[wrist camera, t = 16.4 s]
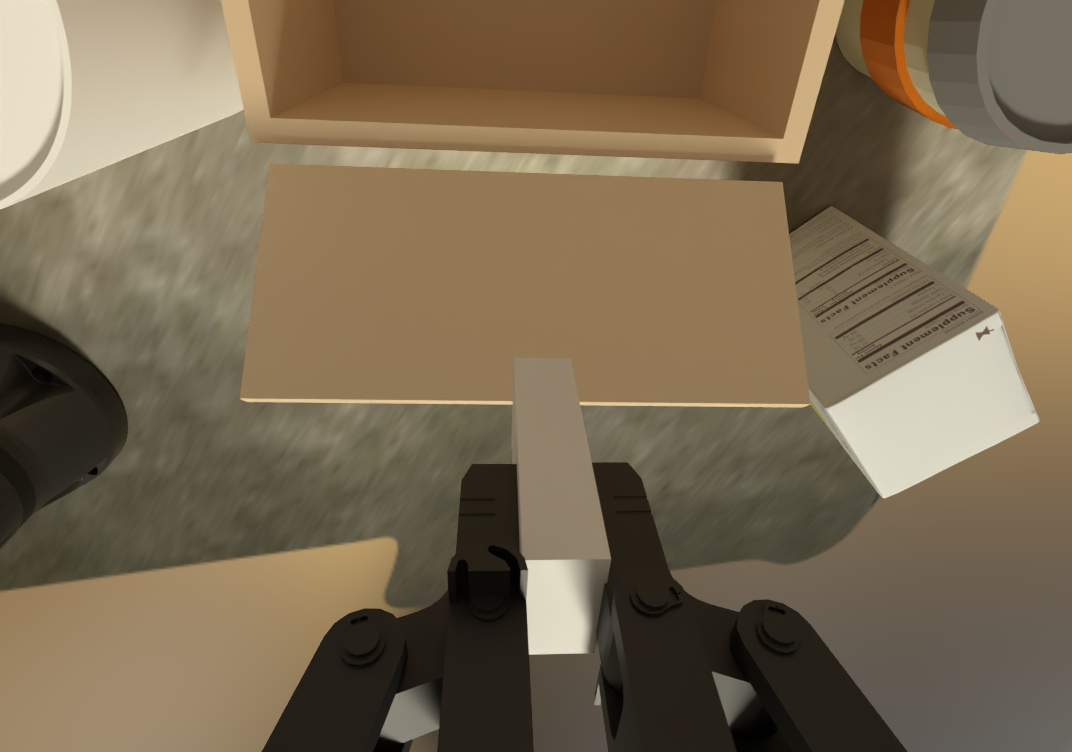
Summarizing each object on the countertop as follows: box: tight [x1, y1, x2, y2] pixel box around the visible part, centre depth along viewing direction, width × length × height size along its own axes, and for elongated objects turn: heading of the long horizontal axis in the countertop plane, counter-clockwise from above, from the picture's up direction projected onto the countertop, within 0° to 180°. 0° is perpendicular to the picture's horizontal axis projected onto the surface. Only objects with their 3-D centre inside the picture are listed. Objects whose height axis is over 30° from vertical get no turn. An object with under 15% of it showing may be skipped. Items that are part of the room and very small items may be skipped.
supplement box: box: [789, 206, 1040, 498], centre depth 38 cm, size 10×9×17 cm
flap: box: [240, 164, 810, 407], centre depth 24 cm, size 22×10×1 cm
